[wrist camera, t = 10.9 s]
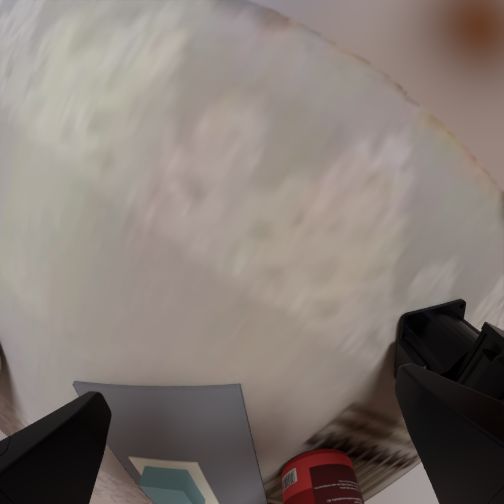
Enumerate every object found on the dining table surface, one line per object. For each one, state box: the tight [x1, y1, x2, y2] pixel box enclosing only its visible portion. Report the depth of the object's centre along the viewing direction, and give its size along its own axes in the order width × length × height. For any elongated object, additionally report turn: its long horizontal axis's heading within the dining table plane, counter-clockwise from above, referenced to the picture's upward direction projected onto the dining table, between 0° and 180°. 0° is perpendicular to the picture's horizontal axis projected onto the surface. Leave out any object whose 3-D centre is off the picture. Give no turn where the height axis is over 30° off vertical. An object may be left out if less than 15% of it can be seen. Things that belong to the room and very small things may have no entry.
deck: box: [139, 466, 205, 504], centre depth 23 cm, size 8×5×3 cm, turn 8°
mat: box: [73, 381, 267, 504], centre depth 24 cm, size 16×22×1 cm
